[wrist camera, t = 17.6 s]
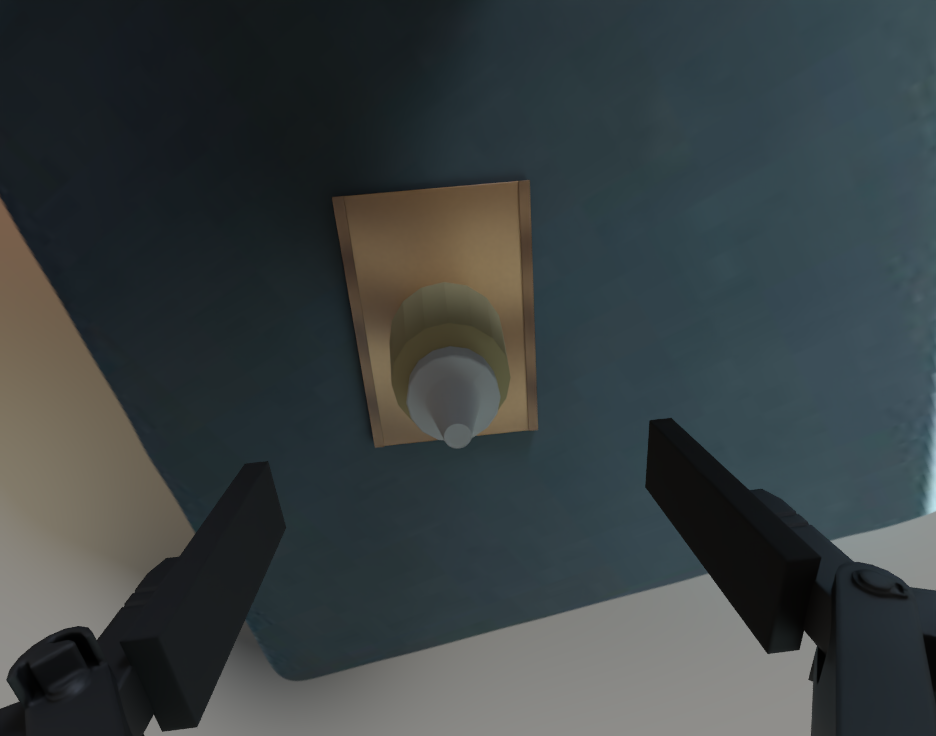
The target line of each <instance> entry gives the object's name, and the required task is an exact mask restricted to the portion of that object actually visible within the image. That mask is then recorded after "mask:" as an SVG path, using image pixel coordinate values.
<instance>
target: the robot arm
mask: <svg viewBox="0 0 936 736" xmlns="http://www.w3.org/2000/svg"><path fill="white" fill-rule="evenodd" d="M645 487H646V489H647V490H648V491H649V493H650V494H651V495H652V497H653V498H654V500H655V501H656V502H657V504H658V505H659V506H660V508H661V509H662V510H663V512H664V513H665V515H666V516H667V517H668V519H669V520H670V521H671V523H672V524H673V525H674V527H675V528H676V530H677V531H678V532H679V534H680V535H681V536H682V538H683V539H684V540H685V542H686V543H687V545H688V546H689V547H690V549H691V550H692V551H693V553H694V554H695V555H696V557H697V558H698V560H699V561H700V562H701V564H702V565H703V566H704V568H705V569H706V570H707V572H708V573H709V575H710V576H711V577H712V578H713V580H714V581H715V583H716V584H717V585H718V587H719V588H720V589H721V591H722V592H723V593H724V595H725V596H726V598H727V599H728V600H729V602H730V603H731V605H732V606H733V607H734V608H735V610H736V611H737V613H738V614H739V615H740V617H741V618H742V620H743V621H744V622H745V624H746V625H747V626H748V628H749V629H750V630H751V632H752V633H753V635H754V636H755V637H756V639H757V640H758V641H759V643H760V644H761V645H762V647H763V648H764V650H765V651H766V652H767V654H770V653H779V652H786V651H794V650H799V649H800V645H801V641H802V637H803V632H804V631H805V632H806V633H807V634H808V636H810V638H811V639H812V640H813V641H814V642H815V644H816V645H817V648H816V652H815V656H814V660H813V664H812V667H811V672H810V675H809V680H811V681H813V702H812V725H811V736H936V591H935V590H927V589H920V588H912V587H909V586H908V585H907V584H906V583H905V582H904V581H903V580H902V579H900V578H899V577H897V576H895V575H894V574H892V573H890V572H889V571H887V570H884V569H881V568H879V567H876V566H874V565H870V564H865V563H860V562H854V561H852V560H851V559H850V558H849V557H848V556H846V555H845V554H844V553H843V552H842V551H841V550H840V549H838V548H837V547H836V546H835V545H834V544H833V543H832V542H830V541H829V540H828V539H827V538H826V537H825V536H823V535H822V534H821V533H820V532H819V531H818V530H817V529H815V528H814V527H813V526H812V525H809V524H808V522H807V521H806V520H805V519H804V518H803V517H802V516H800V515H799V514H796V511H795V510H793V509H792V508H791V507H790V506H789V505H788V504H787V503H785V502H784V501H783V500H782V499H780V498H778V497H776V496H774V495H773V494H771V493H769V492H767V491H765V490H763V489H757V490H748V489H747V488H746V487H745V486H744V485H743V484H742V483H741V482H740V481H739V480H738V479H737V478H735V477H734V476H733V475H732V474H731V473H730V472H729V471H728V470H727V469H726V468H725V467H724V466H722V465H721V464H720V463H719V462H718V461H717V460H716V459H715V458H714V457H713V456H712V455H711V454H710V453H708V452H707V451H706V450H705V449H704V448H703V447H702V446H701V445H700V444H699V443H698V442H697V441H695V440H694V439H693V438H692V437H691V436H690V435H689V434H688V433H687V432H686V431H685V430H684V429H683V428H681V427H680V426H679V425H678V424H677V423H676V422H675V421H674V420H673V419H672V418H667V419H657V420H650V423H649V439H648V454H647V470H646V485H645ZM285 529H286V526H285V522H284V518H283V515H282V511H281V507H280V504H279V500H278V496H277V493H276V489H275V485H274V482H273V478H272V474H271V470H270V467H269V463H268V461H266V462H257V463H248V464H244V466H243V467H242V469H241V470H240V472H239V473H238V474H237V476H236V477H235V479H234V480H233V481H232V483H231V484H230V486H229V487H228V489H227V490H226V491H225V493H224V494H223V496H222V497H221V498H220V500H219V501H218V503H217V504H216V506H215V507H214V508H213V510H212V511H211V513H210V514H209V515H208V517H207V518H206V520H205V521H204V523H203V524H202V525H201V527H200V528H199V530H198V531H197V532H196V534H195V535H194V537H193V538H192V540H191V541H190V542H189V544H188V545H187V547H186V548H185V549H184V551H183V552H182V554H181V555H180V556H179V557H173V558H166V559H165V560H164V561H162V562H161V563H160V564H159V565H157V566H156V567H155V568H154V569H152V570H151V571H150V572H149V573H148V574H147V575H146V576H145V578H144V579H143V580H142V581H141V583H140V584H139V585H138V587H137V588H136V590H135V593H133V594H132V595H131V596H130V597H129V599H128V600H127V601H126V603H125V606H124V607H122V608H121V609H120V610H119V612H118V613H117V614H116V616H115V617H114V618H113V620H112V621H111V622H110V624H109V625H108V626H107V628H106V629H105V630H104V632H103V633H102V634H101V635H100V637H99V638H98V640H96V638H95V637H94V635H93V633H92V631H91V630H90V629H89V628H88V627H81V626H77V627H72V628H67V629H63V630H61V631H59V632H57V633H54V634H52V635H49V636H48V637H46V638H45V639H43V640H41V641H40V642H38V643H37V644H35V645H33V646H32V647H31V648H30V649H28V650H27V651H26V652H25V653H24V654H23V655H21V656H20V658H18V660H17V661H16V662H15V664H14V665H13V666H12V667H11V669H10V671H9V674H8V677H7V682H8V683H9V685H10V687H11V688H12V690H13V691H14V693H15V695H16V696H17V698H18V700H19V701H20V702H17V703H15V704H12V705H9V706H7V707H4V708H1V709H0V736H144V734H143V733H144V731H145V729H146V728H147V726H148V724H149V722H150V720H151V718H152V717H153V715H154V716H155V718H156V720H157V722H158V724H159V726H160V728H161V730H162V732H163V731H171V730H179V729H187V728H194V727H197V726H198V724H199V722H200V720H201V717H202V715H203V712H204V711H205V708H206V706H207V704H208V702H209V699H210V697H211V695H212V693H213V691H214V688H215V686H216V684H217V681H218V679H219V677H220V675H221V673H222V670H223V668H224V666H225V663H226V661H227V659H228V657H229V655H230V652H231V650H232V648H233V646H234V643H235V641H236V639H237V636H238V634H239V632H240V630H241V628H242V625H243V623H244V621H245V619H246V616H247V614H248V612H249V610H250V607H251V605H252V603H253V601H254V598H255V596H256V594H257V592H258V590H259V587H260V585H261V583H262V581H263V578H264V576H265V574H266V572H267V569H268V567H269V565H270V563H271V560H272V558H273V556H274V554H275V551H276V549H277V547H278V545H279V542H280V540H281V538H282V536H283V533H284V531H285Z"/></svg>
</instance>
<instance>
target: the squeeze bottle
mask: <svg viewBox="0 0 936 736" xmlns="http://www.w3.org/2000/svg"><path fill="white" fill-rule="evenodd" d="M389 345H390V364H391V383H392V387H393V390H394V394H395V397H396V400H397V403H398V405H399V407H400V408H401V409H402V410H403V411H404V412H405V413H406V415H407V416H408V417H409V418H410V419H411V420H412V421H413V422H414V423H415V424H416V425H417V426H418V427H419V428H420V429H421V431H422V432H424V433H426V434H428V435H430V436H432V437H434V438H436V439H438V440H444V441H445V442H446V443H447V445H448V446H450V447H452V448H462V447H465V446H466V445H468V444H469V442H470V441H471V438H472V437H474V436H476V435H477V434H479V433H480V432H482V431H483V430H485V429H486V428H488V426H489V425H490V423H491V422H492V420H493V419H494V417H495V416H496V415H497V412H498V410H499V408H500V407H501V405H502V404H503V402H504V401H505V400H506V397H507V393H508V388H509V383H510V378H511V376H510V371H509V365H508V359H507V353H506V348H505V342H504V336H503V332H502V327H501V322H500V318H499V315H498V313H497V312H496V310H495V309H494V308H493V306H492V305H491V303H490V302H489V301H488V299H487V298H486V297H485V296H483V295H482V294H480V293H478V292H477V291H475V290H473V289H472V288H470V287H468V286H467V285H460V284H454V283H447V282H442V283H438V284H434V285H430V286H426V287H422V288H420V289H419V290H417V291H416V292H415V293H413V294H412V295H411V296H409V297H408V298H407V299H405V300H404V301H403V302H402V304H401V306H400V307H399V309H398V311H397V313H396V314H395V316H394V318H393V319H392V323H391V332H390V341H389Z"/></svg>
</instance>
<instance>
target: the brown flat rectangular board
mask: <svg viewBox="0 0 936 736" xmlns="http://www.w3.org/2000/svg"><path fill="white" fill-rule="evenodd" d="M332 201H333V207H334V213H335V219H336V224H337V230H338V236H339V242H340V248H341V253H342V259H343V265H344V271H345V277H346V282H347V288H348V294H349V300H350V306H351V311H352V317H353V323H354V329H355V335H356V340H357V346H358V352H359V358H360V364H361V369H362V375H363V381H364V387H365V393H366V398H367V404H368V410H369V416H370V422H371V427H372V433H373V439H374V445H375V448H376V447H384V446H387V445H397V444H406V443H415V442H424V441H433V440H438V439H436V438H434V437H432V436H430V435H428V434H426V433H424V432H422V431H421V429H420V428H419V427H418V426H417V425H416V424H415V423H414V422H413V421H412V420H411V419H410V418H409V417H408V416H407V415H406V413H405V412H404V411H403V410H402V409H401V408H400V407H399V405H398V403H397V400H396V397H395V394H394V390H393V387H392V383H391V364H390V345H389V341H390V332H391V323H392V319H393V318H394V316H395V314H396V313H397V311H398V309H399V307H400V306H401V304H402V302H403V301H404V300H405V299H407V298H408V297H409V296H411V295H412V294H413V293H415V292H416V291H417V290H419V289H420V288H422V287H426V286H430V285H434V284H438V283H442V282H447V283H454V284H460V285H467V286H468V287H470V288H472V289H473V290H475V291H477V292H478V293H480V294H482V295H483V296H485V297H486V298H487V299H488V301H489V302H490V303H491V305H492V306H493V308H494V309H495V310H496V312H497V313H498V315H499V318H500V322H501V327H502V332H503V336H504V342H505V348H506V353H507V359H508V365H509V371H510V376H511V378H510V383H509V388H508V393H507V397H506V400H505V401H504V402H503V404H502V405H501V407H500V408H499V410H498V412H497V415H496V416H495V417H494V419H493V420H492V422H491V423H490V425H489V426H488V428H486V429H485V430H483V431H482V432H480V433H479V434H477V435H476V436H479V435H488V434H498V433H507V432H516V431H525V430H529V431H532V430H538V417H537V386H536V356H535V326H534V296H533V266H532V236H531V206H530V180H524V181H514V182H502V183H490V184H479V185H467V186H455V187H444V188H432V189H421V190H409V191H397V192H386V193H374V194H363V195H351V196H339V197H332Z"/></svg>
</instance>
